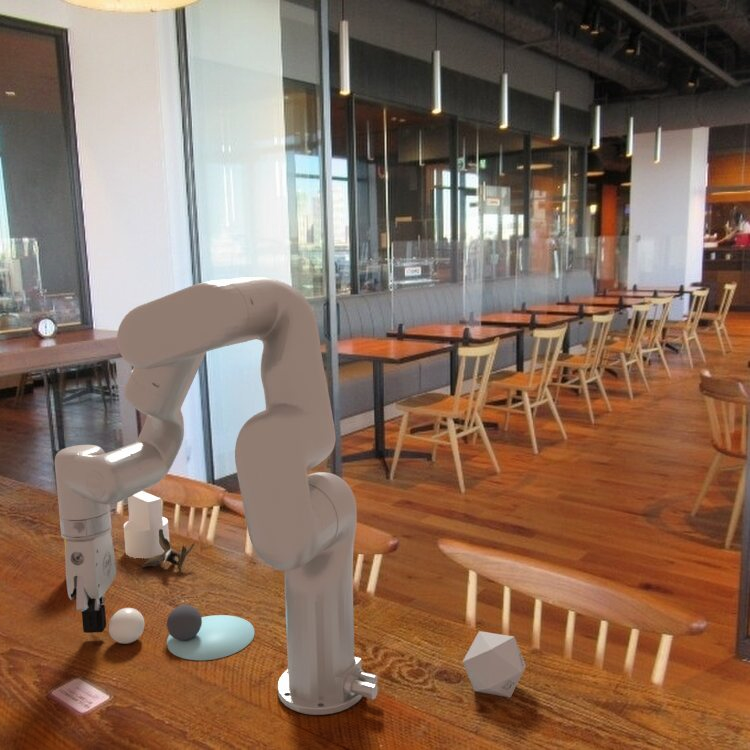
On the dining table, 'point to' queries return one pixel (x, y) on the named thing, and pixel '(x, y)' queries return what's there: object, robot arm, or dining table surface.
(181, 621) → the object ball
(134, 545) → the base with upright slab
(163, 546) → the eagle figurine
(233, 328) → the robot arm
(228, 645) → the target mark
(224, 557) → the dining table surface
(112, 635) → the cue ball
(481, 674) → the die
